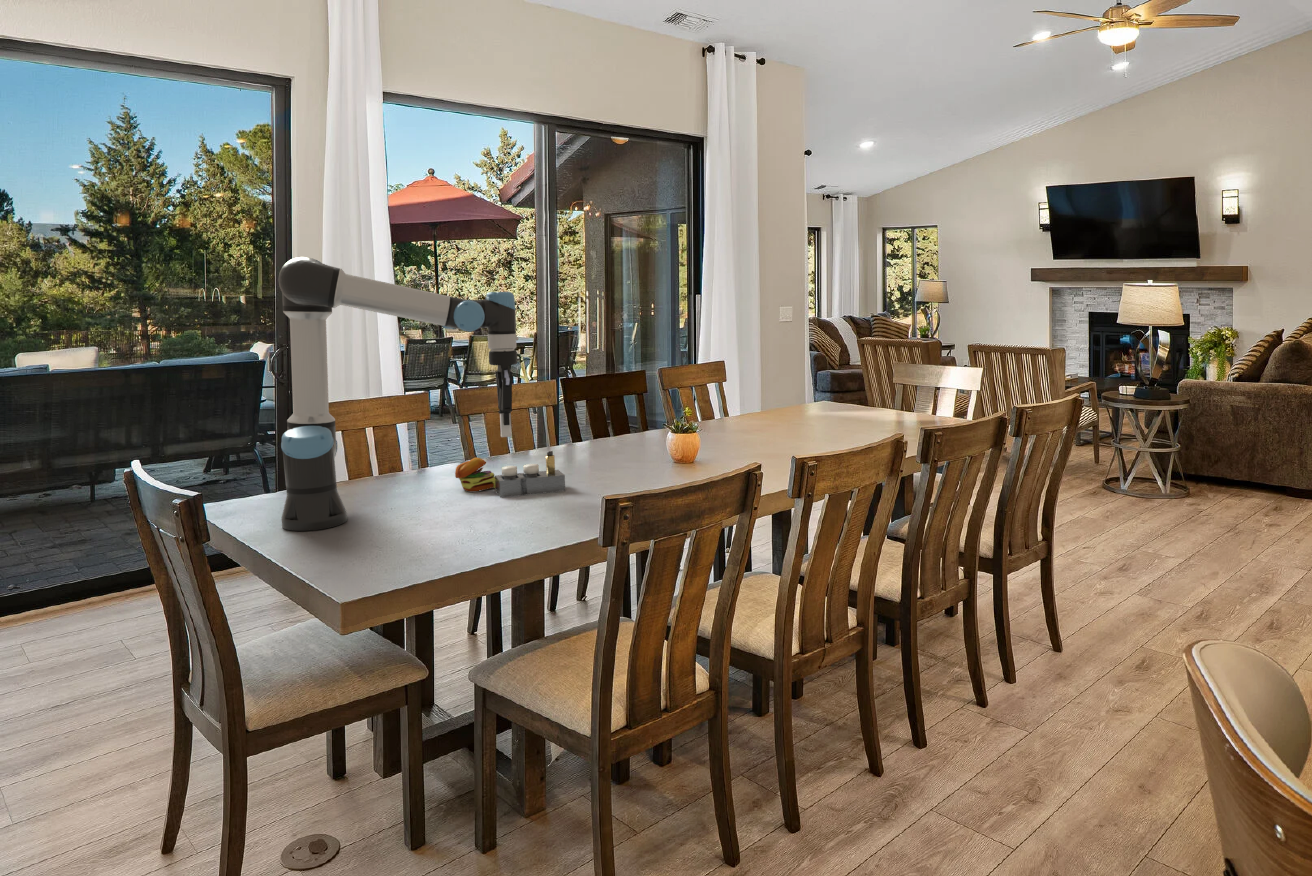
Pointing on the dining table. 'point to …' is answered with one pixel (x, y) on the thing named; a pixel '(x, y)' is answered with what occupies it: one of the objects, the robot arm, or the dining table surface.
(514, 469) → the knob
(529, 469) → the knob
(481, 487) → the cheeseburger
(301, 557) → the dining table surface
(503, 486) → the mount
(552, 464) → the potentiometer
